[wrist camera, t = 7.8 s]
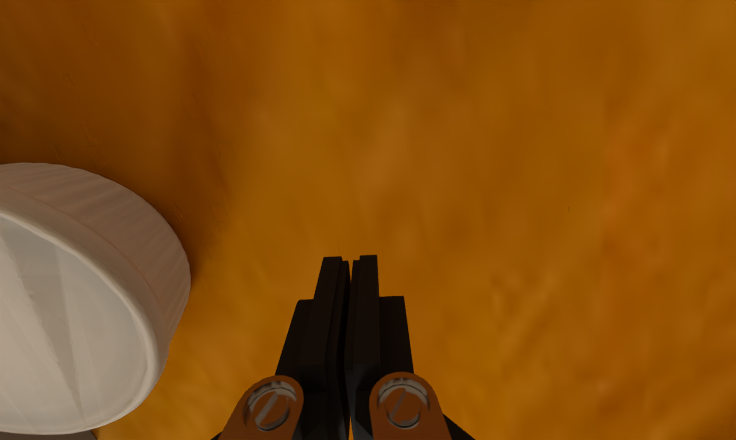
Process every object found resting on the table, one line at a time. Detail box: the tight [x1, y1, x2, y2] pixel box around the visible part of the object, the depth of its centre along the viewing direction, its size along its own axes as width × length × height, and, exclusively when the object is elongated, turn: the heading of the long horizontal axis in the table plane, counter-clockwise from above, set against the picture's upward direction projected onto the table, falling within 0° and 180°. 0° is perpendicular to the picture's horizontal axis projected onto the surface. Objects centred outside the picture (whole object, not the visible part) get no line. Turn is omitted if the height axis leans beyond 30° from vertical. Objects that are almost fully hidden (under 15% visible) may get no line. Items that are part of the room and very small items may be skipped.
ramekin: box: [0, 163, 191, 435], centre depth 13 cm, size 11×11×5 cm
